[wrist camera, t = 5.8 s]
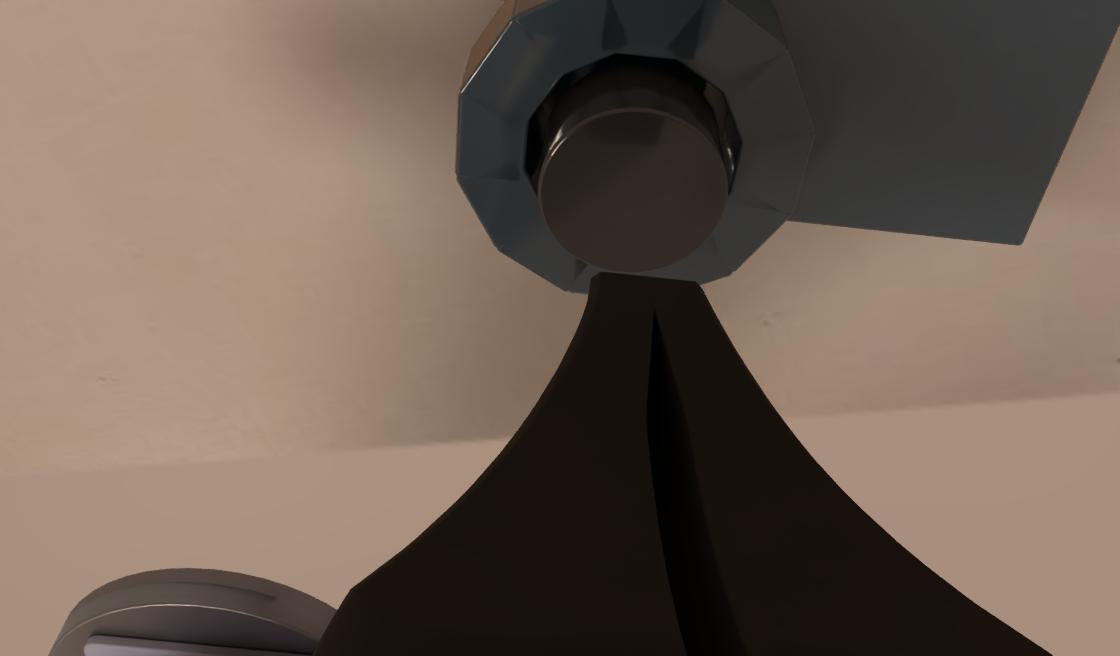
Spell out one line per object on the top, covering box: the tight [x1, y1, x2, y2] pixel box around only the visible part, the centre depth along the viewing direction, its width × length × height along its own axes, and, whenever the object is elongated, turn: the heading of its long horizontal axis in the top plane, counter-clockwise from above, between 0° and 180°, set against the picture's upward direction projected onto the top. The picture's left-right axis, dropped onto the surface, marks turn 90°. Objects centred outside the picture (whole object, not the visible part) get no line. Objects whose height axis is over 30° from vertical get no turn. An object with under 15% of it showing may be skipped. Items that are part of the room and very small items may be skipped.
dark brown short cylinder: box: [538, 63, 728, 274], centre depth 17 cm, size 3×3×2 cm
